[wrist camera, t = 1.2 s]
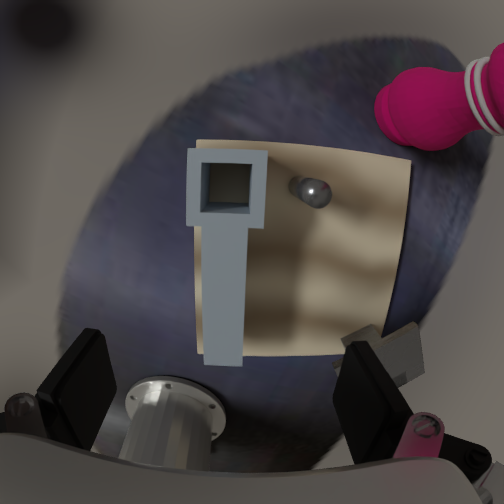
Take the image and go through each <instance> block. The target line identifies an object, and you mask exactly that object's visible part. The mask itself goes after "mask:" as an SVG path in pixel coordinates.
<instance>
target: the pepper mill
mask: <svg viewBox="0 0 504 504" xmlns="http://www.w3.org/2000/svg"><path fill="white" fill-rule="evenodd" d="M374 110H375V117H376V120H377V123H378V125H379V127H380V129H381V130H382V132H383V133H384V134H385V135H386V136H387V137H388V138H389V139H390V140H391V141H393V142H395V143H397V144H399V145H403V146H415V147H417V148H419V149H422V150H427V151H436V150H442V149H446V148H448V147H450V146H452V145H454V144H456V143H457V142H458V141H459V140H460V139H461V138H462V137H463V136H464V135H466V134H467V133H469V132H471V131H474V130H480V129H485V130H486V131H487V132H489V133H490V134H492V135H495V136H503V135H504V43H502V44H500V45H498V46H497V47H496V48H495V49H494V50H493V52H492V54H491V56H490V57H483V58H481V59H480V60H479V59H477V60H473V61H472V62H471V63H470V64H469V65H468V66H467V68H466V71H463V72H446V71H443V70H439V69H435V68H430V67H417V68H413V69H409V70H406V71H404V72H402V73H400V74H399V75H398V76H397V77H396V78H395V79H394V80H393V82H392V83H391V84H389V85H387V86H385V87H384V88H382V89H381V91H380V92H379V93H378V95H377V97H376V100H375V108H374Z"/></svg>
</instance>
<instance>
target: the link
mask: <svg viewBox="0 0 504 504" xmlns="http://www.w3.org/2000/svg"><path fill="white" fill-rule="evenodd" d="M267 158H268V151H267V150H247V149H215V148H188V156H187V193H186V226H201V277H202V324H203V351H204V365H220V366H242V357H243V332H244V308H245V285H246V262H247V240H248V228H261V229H264V213H265V195H266V177H267ZM210 163H236V164H250V177H249V198H248V203H233V202H209V187H210Z"/></svg>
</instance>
